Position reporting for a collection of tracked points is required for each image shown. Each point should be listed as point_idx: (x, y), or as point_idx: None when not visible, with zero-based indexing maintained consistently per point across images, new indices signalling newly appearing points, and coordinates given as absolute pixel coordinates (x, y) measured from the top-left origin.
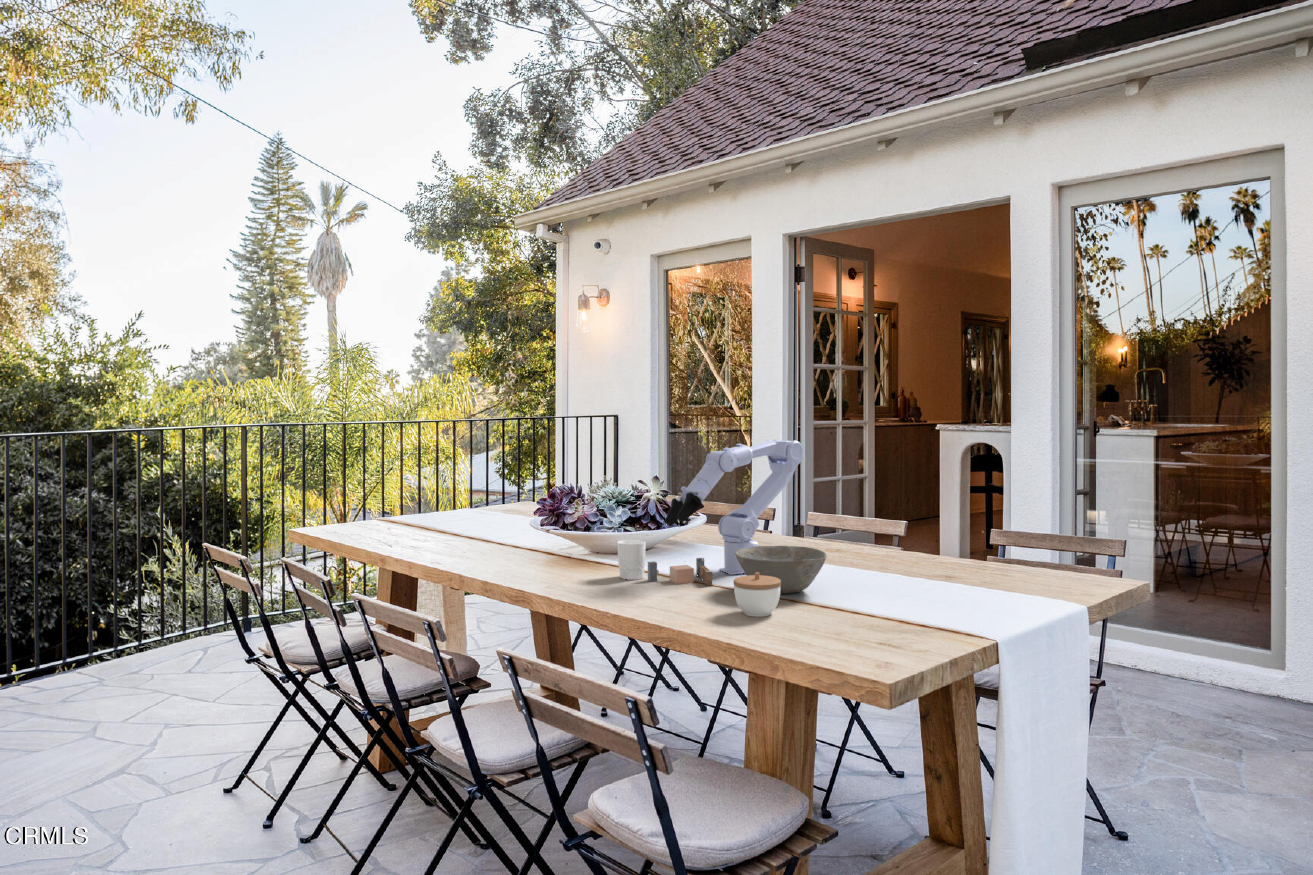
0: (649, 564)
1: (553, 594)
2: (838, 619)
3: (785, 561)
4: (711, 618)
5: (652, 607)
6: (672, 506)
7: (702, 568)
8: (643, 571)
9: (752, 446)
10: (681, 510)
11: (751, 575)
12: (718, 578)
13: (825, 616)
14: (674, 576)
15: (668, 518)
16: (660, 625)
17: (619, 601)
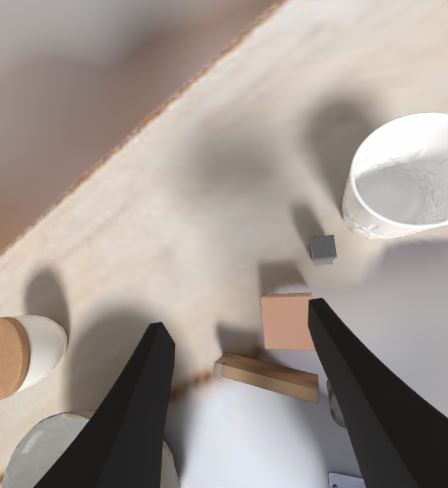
0: (314, 237)
1: (248, 54)
2: (6, 424)
3: (5, 474)
4: (57, 274)
5: (122, 211)
6: (369, 403)
7: (277, 378)
8: (363, 233)
9: None
10: (128, 363)
11: (16, 366)
12: (298, 417)
13: (19, 419)
14: (276, 295)
15: (316, 322)
16: (55, 207)
17: (167, 166)
